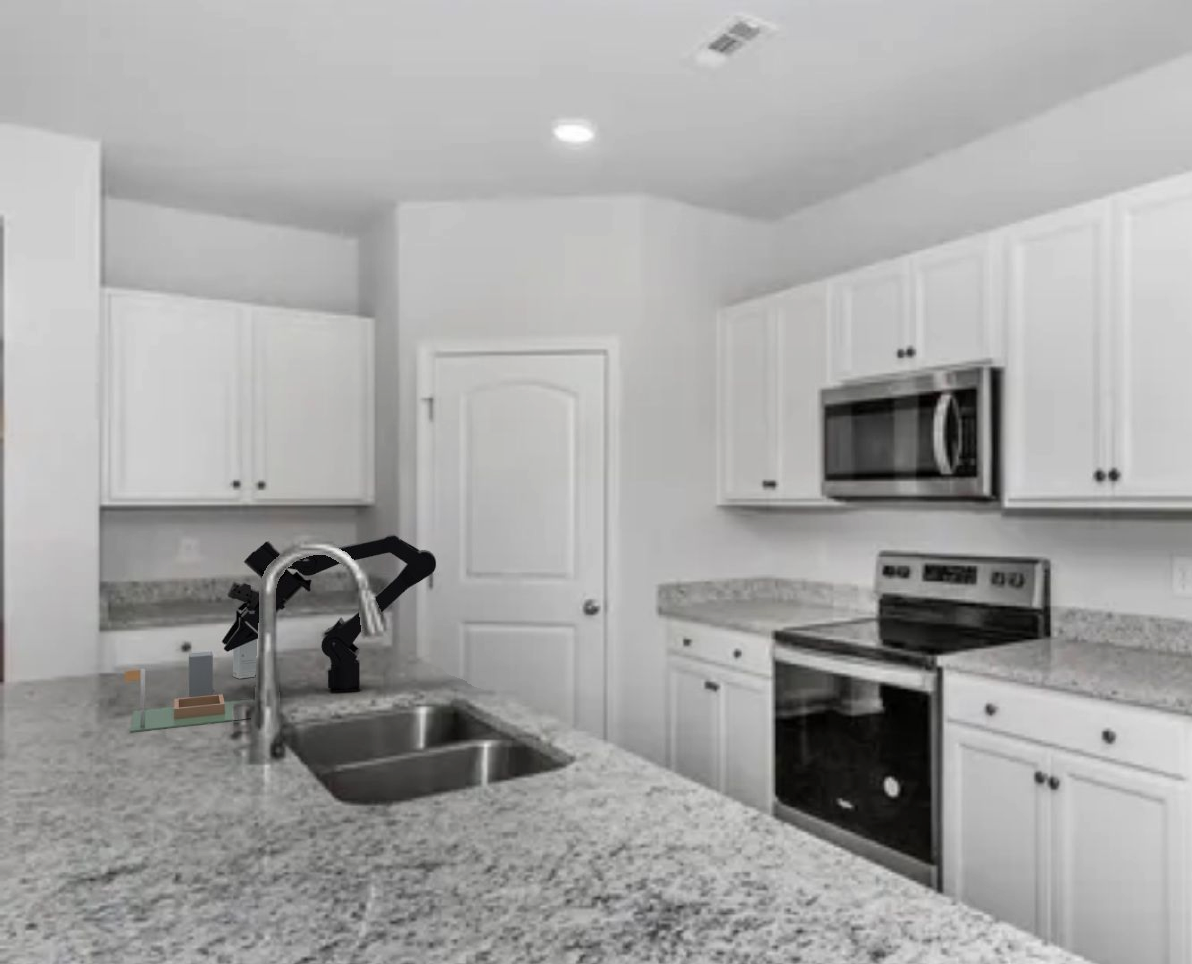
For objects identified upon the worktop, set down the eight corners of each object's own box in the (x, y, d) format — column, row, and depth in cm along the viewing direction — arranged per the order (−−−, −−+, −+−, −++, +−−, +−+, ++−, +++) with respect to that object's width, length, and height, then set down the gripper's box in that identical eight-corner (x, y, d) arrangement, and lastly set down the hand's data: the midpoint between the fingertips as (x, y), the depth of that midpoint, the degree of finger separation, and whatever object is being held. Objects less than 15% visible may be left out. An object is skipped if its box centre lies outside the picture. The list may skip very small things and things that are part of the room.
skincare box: (239, 679, 210) (239, 628, 210) (232, 676, 213) (232, 626, 213) (264, 675, 214) (264, 625, 214) (257, 672, 217) (257, 623, 217)
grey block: (211, 697, 192) (211, 651, 192) (212, 701, 188) (212, 655, 188) (188, 699, 190) (188, 653, 190) (189, 704, 186) (189, 657, 186)
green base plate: (259, 699, 190) (259, 647, 190) (266, 717, 175) (266, 660, 175) (128, 713, 179) (128, 657, 179) (124, 732, 164) (124, 672, 165)
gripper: (247, 565, 202) (194, 616, 197) (254, 572, 185) (196, 628, 181) (283, 597, 206) (232, 648, 201) (293, 607, 189) (237, 663, 184)
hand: (224, 646), depth 191 cm, fingers open, 9 cm apart
